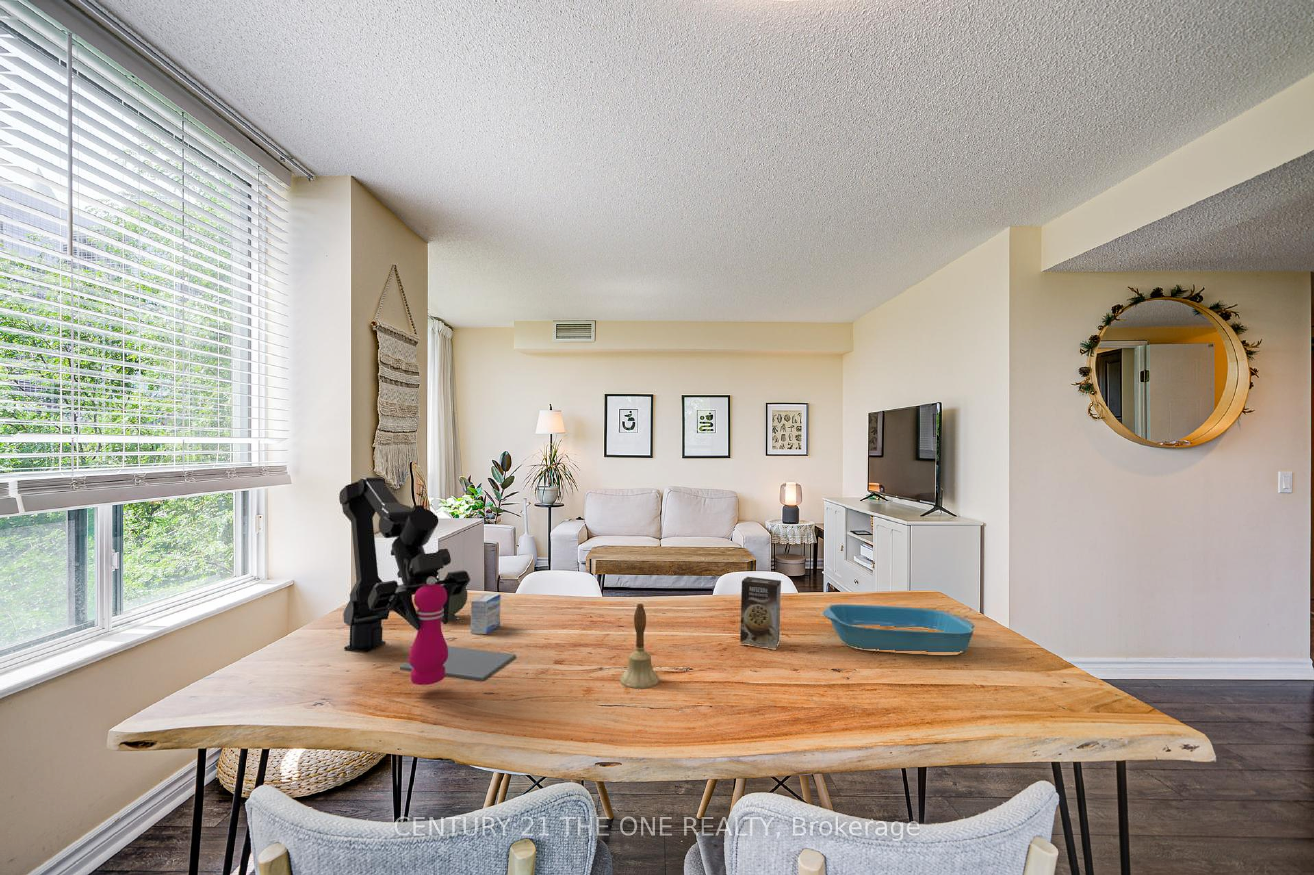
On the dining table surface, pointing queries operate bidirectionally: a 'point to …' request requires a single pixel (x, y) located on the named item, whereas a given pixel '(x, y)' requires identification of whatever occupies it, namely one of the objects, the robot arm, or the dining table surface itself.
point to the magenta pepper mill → (429, 635)
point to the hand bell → (639, 658)
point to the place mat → (471, 663)
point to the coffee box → (760, 612)
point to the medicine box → (485, 613)
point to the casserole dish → (899, 640)
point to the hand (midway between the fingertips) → (432, 626)
